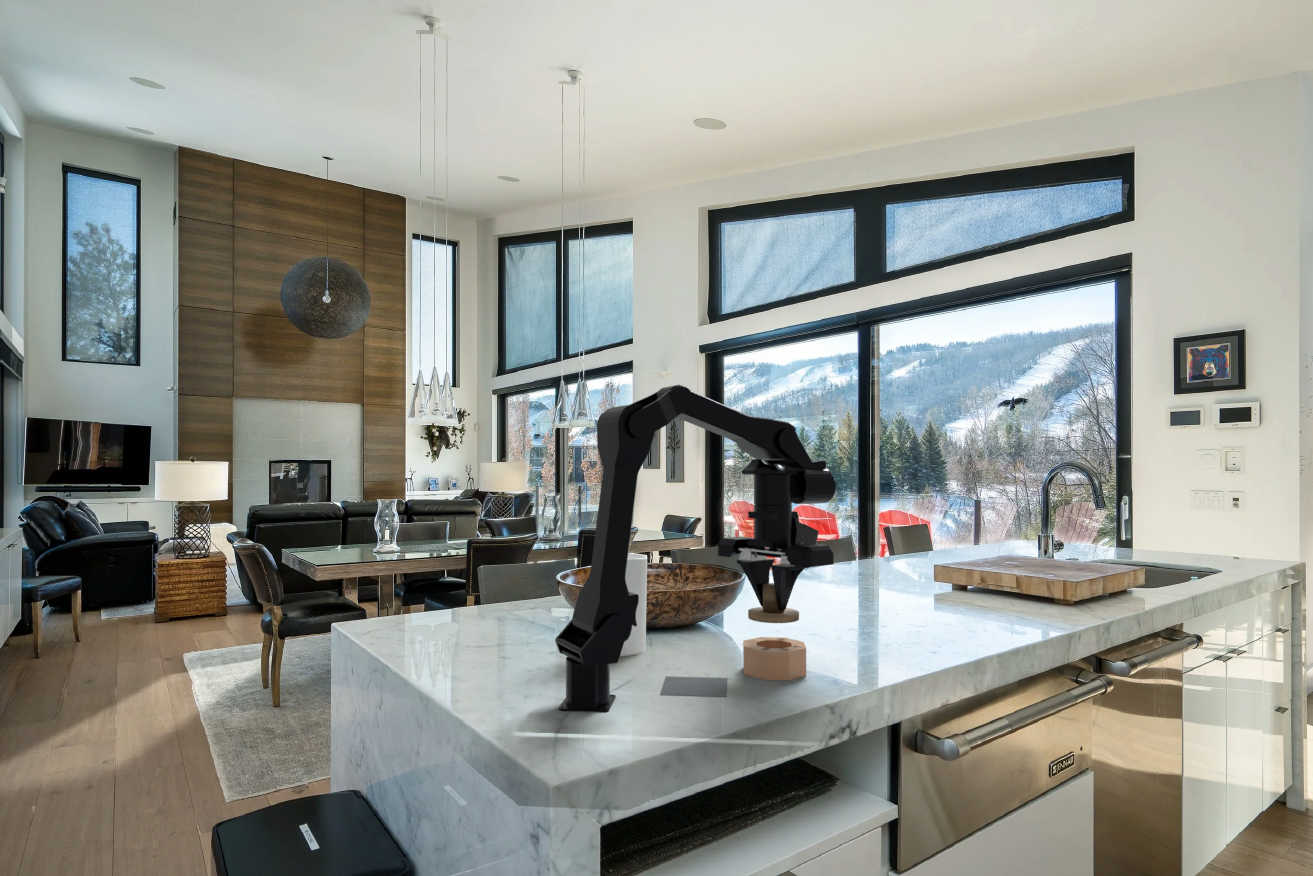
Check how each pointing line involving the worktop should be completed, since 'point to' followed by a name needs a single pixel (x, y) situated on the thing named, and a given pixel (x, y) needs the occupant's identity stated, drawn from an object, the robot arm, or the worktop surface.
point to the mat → (695, 686)
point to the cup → (638, 585)
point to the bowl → (774, 658)
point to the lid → (772, 609)
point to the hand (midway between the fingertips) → (773, 608)
